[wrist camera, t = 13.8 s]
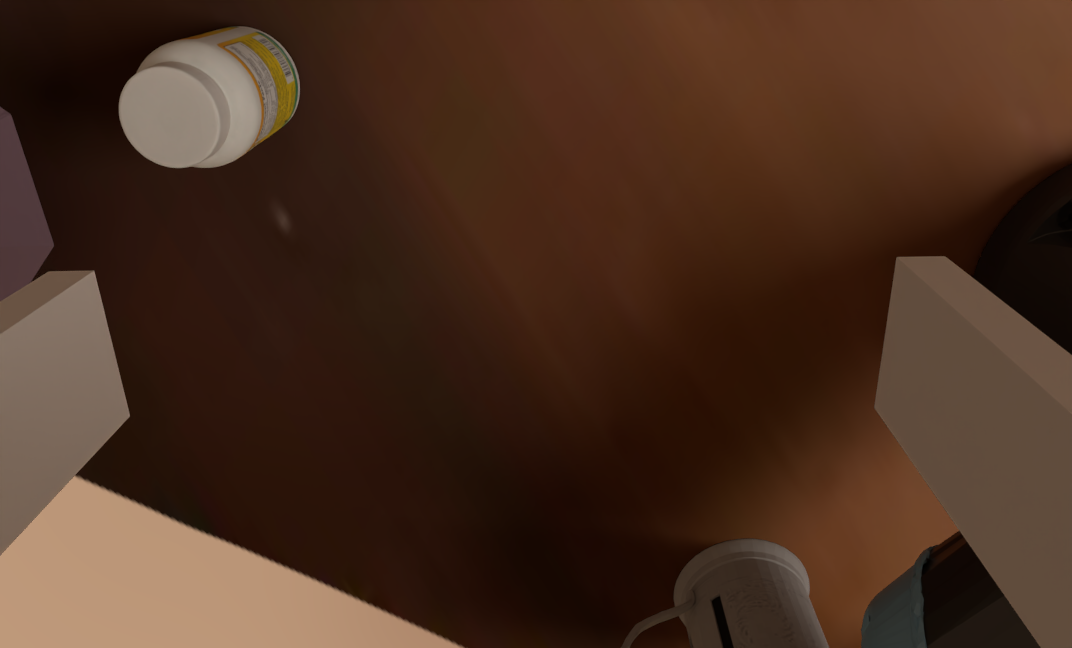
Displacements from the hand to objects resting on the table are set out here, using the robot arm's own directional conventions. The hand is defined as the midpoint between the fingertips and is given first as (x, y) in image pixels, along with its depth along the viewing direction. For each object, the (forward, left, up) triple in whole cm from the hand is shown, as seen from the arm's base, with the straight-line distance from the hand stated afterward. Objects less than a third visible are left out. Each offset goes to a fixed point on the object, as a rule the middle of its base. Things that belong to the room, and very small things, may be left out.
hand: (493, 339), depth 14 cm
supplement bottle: (+14, 0, -31) cm, 34 cm away
